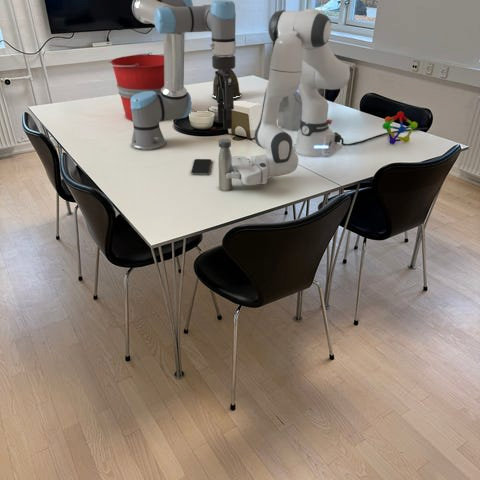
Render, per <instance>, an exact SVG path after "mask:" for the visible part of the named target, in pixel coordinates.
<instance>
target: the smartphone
mask: <svg viewBox="0 0 480 480" xmlns="http://www.w3.org/2000/svg"><path fill="white" fill-rule="evenodd" d="M211 165H212V159H211V158H195V159H194V160H193V163H192V168H191V172H190V173H191V175H201V176H202V175H203V176H206V175H210V170H211Z"/></svg>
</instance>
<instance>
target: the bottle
mask: <svg viewBox="0 0 480 480" xmlns="http://www.w3.org/2000/svg"><path fill="white" fill-rule="evenodd" d="M232 157H233V156H232V152H231V149H230V147H229V148H219V153H218V189H219V190H220V191H222V192H228V191H231V190H232V189H233V178H228V179H227V178H226V177H225V173H228V172H230V173H233V172H232Z"/></svg>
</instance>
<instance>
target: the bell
mask: <svg viewBox="0 0 480 480" xmlns="http://www.w3.org/2000/svg"><path fill="white" fill-rule="evenodd" d="M230 74H231V78H233V79H234V81H233V97H236V96H240V95H241V96H242V93H241V92H240V83H239V80H238V79H239V78H238V77H237V75H236V73H235V72H234V69H230ZM212 83H213V84H212V95H214V96H216V75H214V78H213V81H212Z"/></svg>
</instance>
